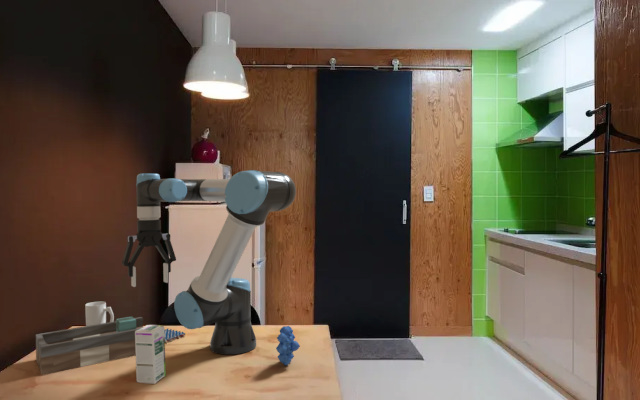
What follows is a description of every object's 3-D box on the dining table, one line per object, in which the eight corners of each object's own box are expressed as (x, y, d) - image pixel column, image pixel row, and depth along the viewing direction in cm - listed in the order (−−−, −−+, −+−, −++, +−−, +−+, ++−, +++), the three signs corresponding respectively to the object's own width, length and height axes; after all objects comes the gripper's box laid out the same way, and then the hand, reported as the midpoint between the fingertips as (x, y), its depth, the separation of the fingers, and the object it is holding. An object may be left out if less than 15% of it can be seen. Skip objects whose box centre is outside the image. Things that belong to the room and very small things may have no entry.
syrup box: (155, 384, 125) (154, 331, 125) (135, 382, 126) (134, 330, 126) (166, 376, 130) (165, 325, 130) (147, 374, 132) (146, 324, 131)
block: (136, 334, 152) (136, 319, 152) (120, 337, 149) (120, 322, 149) (132, 331, 156) (131, 316, 156) (116, 334, 153) (116, 319, 153)
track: (155, 350, 151) (154, 326, 151) (41, 375, 132) (41, 347, 132) (141, 339, 163) (141, 316, 163) (36, 359, 144) (35, 334, 144)
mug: (81, 339, 164) (81, 305, 163) (92, 333, 170) (92, 301, 170) (108, 340, 163) (108, 306, 163) (118, 334, 170) (118, 301, 169)
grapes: (294, 373, 131) (294, 331, 131) (271, 371, 133) (271, 330, 133) (305, 359, 143) (305, 320, 142) (284, 357, 144) (284, 319, 144)
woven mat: (142, 341, 163) (142, 335, 163) (167, 333, 172) (167, 327, 172) (162, 346, 157) (162, 340, 157) (186, 337, 166) (186, 332, 166)
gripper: (177, 217, 167) (178, 278, 167) (110, 220, 153) (111, 286, 153) (185, 218, 161) (186, 281, 161) (116, 221, 147) (117, 290, 147)
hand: (150, 284), depth 157 cm, fingers open, 10 cm apart
